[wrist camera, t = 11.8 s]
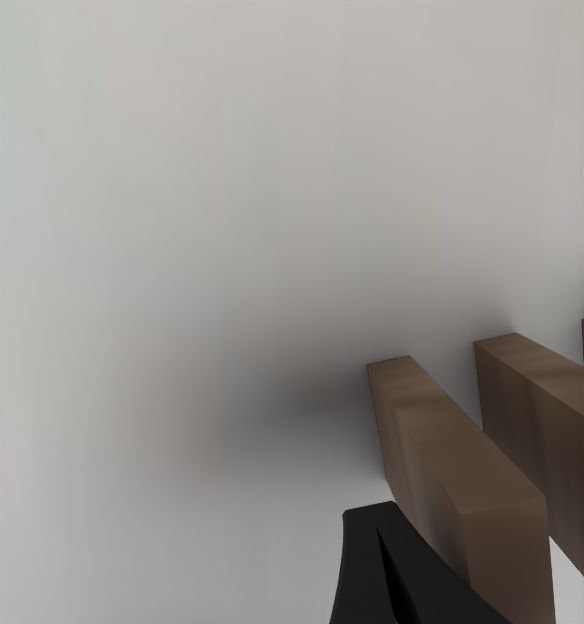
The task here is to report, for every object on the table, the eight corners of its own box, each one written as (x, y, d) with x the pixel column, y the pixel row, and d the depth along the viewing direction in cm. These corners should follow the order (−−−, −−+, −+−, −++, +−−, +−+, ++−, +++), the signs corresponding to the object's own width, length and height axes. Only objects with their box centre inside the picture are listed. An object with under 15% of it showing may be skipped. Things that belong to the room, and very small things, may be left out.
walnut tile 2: (487, 460, 17) (667, 676, 9) (473, 342, 16) (667, 472, 8) (527, 452, 17) (743, 662, 9) (516, 332, 16) (753, 455, 8)
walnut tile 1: (387, 481, 17) (487, 713, 9) (366, 364, 16) (461, 514, 8) (426, 473, 17) (561, 697, 9) (408, 355, 16) (545, 496, 8)
